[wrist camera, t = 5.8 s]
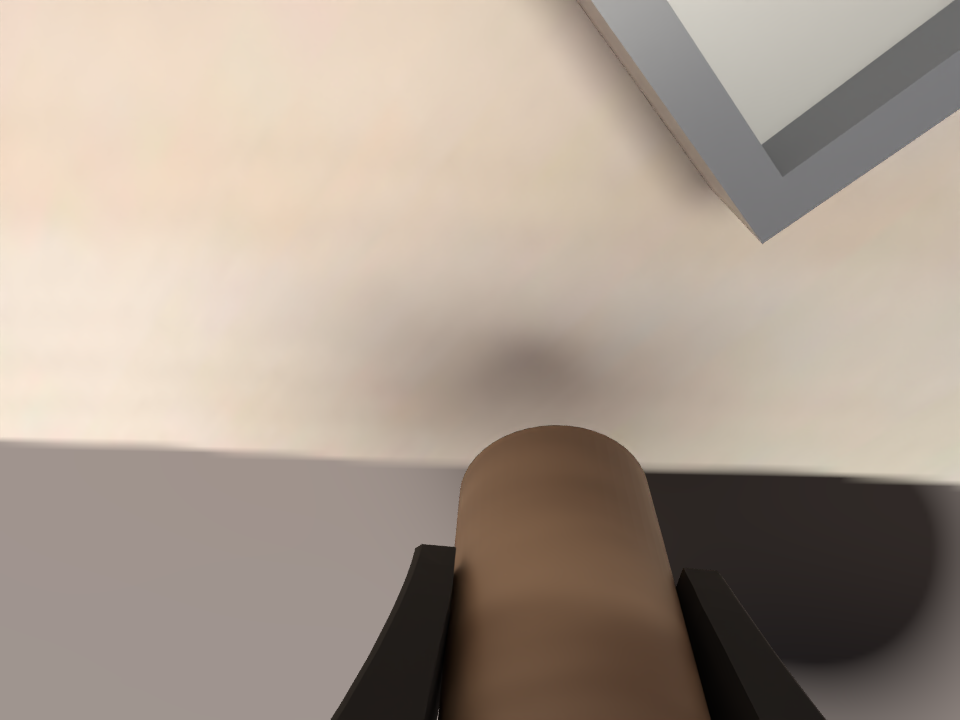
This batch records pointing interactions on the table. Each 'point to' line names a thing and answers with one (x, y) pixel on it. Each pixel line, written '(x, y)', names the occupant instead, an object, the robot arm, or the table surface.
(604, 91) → the table surface
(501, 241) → the table surface
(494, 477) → the walnut peg
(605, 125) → the table surface
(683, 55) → the open box
